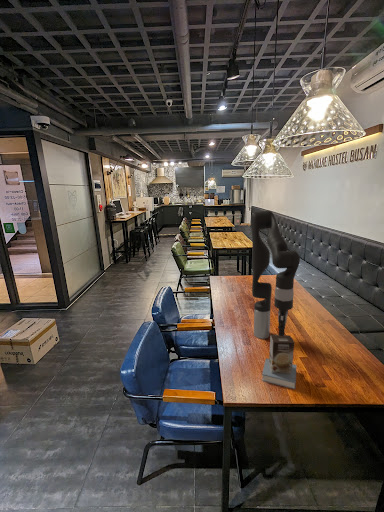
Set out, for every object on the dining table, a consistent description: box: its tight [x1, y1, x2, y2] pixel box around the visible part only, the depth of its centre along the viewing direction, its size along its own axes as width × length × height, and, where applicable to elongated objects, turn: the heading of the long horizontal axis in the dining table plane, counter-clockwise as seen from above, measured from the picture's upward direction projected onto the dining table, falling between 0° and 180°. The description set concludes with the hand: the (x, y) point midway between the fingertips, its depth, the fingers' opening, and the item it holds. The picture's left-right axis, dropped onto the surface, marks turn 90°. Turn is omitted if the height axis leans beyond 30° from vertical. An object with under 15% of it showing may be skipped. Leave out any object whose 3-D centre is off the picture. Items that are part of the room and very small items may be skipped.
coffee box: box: [268, 334, 295, 374], centre depth 112 cm, size 9×6×16 cm
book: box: [261, 357, 297, 390], centre depth 115 cm, size 12×14×4 cm
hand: (282, 330), depth 109 cm, fingers open, 8 cm apart
